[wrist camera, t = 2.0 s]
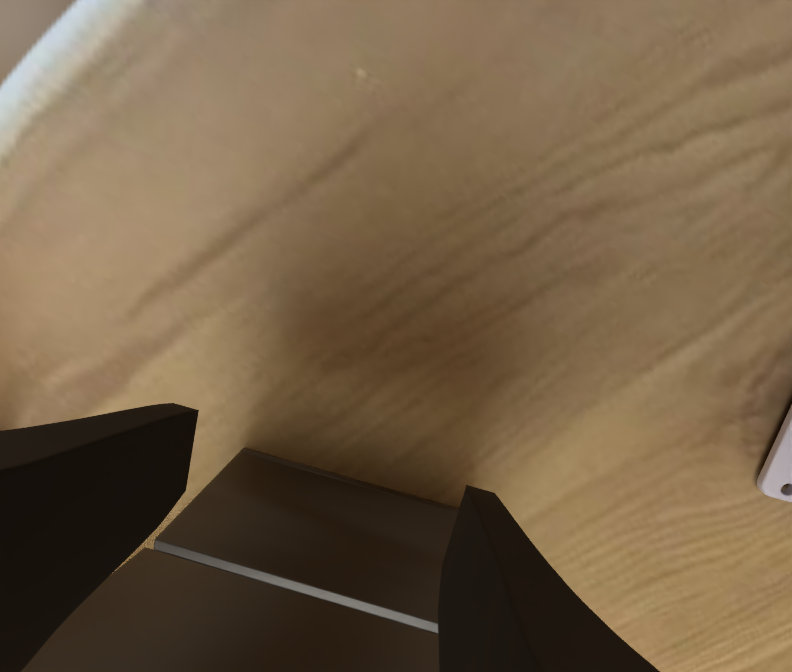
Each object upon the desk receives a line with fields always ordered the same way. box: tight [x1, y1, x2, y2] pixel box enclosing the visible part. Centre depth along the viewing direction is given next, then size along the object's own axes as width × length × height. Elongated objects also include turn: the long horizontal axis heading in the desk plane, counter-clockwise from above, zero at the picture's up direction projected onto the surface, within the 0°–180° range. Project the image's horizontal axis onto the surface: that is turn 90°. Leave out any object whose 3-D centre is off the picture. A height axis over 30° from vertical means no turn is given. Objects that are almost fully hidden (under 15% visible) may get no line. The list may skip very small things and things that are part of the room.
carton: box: [154, 448, 459, 634], centre depth 20 cm, size 11×11×7 cm
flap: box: [21, 548, 439, 672], centre depth 12 cm, size 11×5×1 cm
